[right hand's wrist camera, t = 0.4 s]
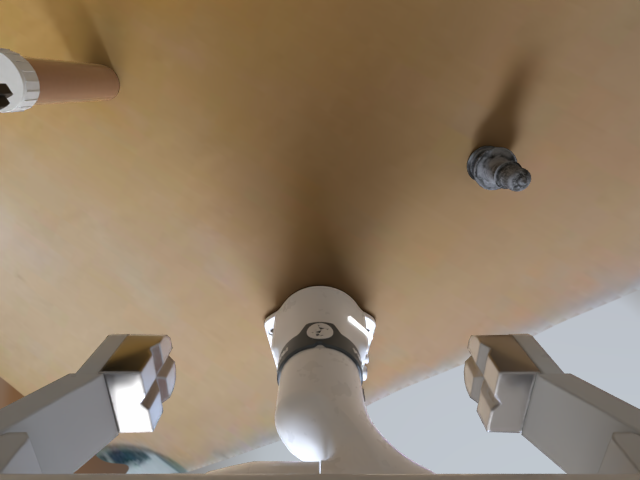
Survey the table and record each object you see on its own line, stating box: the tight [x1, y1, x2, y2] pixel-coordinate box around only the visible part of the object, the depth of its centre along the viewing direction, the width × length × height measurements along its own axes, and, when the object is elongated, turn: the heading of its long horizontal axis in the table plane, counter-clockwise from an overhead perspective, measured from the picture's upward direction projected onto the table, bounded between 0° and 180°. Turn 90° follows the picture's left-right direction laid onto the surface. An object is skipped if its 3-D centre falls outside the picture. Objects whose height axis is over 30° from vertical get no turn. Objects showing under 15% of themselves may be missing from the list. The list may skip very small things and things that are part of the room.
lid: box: [0, 48, 40, 113], centre depth 36 cm, size 6×6×2 cm
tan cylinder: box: [22, 56, 119, 105], centre depth 44 cm, size 4×4×19 cm
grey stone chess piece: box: [467, 146, 531, 191], centre depth 51 cm, size 6×6×12 cm
